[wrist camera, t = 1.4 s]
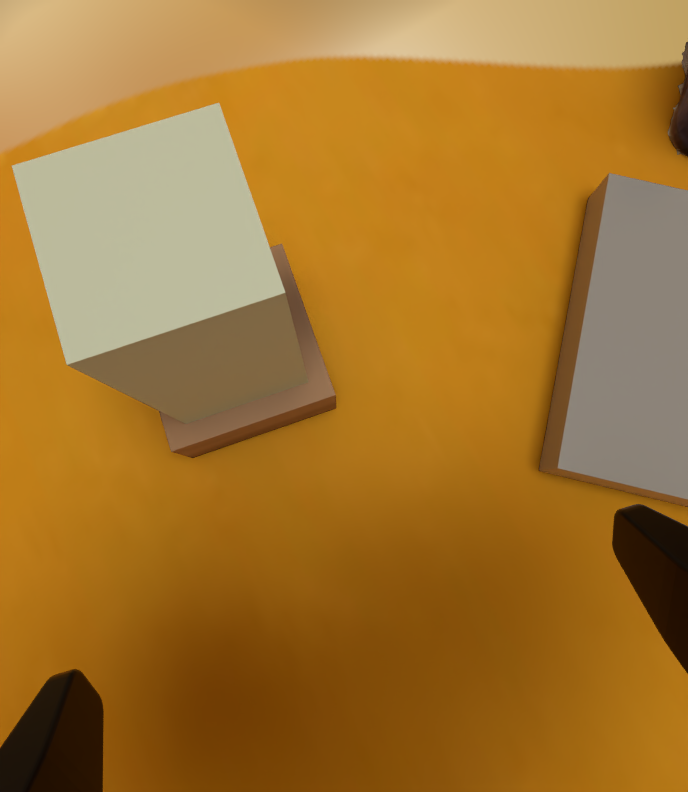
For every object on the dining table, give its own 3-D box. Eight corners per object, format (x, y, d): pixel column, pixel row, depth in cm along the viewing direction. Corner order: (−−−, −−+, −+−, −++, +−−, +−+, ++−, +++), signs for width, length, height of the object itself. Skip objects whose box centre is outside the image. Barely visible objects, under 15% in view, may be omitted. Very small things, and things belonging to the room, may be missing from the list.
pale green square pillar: (308, 382, 21) (285, 292, 12) (185, 424, 20) (66, 364, 11) (269, 268, 21) (218, 103, 12) (150, 307, 21) (11, 165, 12)
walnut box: (336, 408, 23) (335, 394, 20) (192, 457, 23) (171, 451, 20) (288, 274, 24) (281, 243, 21) (150, 320, 24) (124, 294, 21)
